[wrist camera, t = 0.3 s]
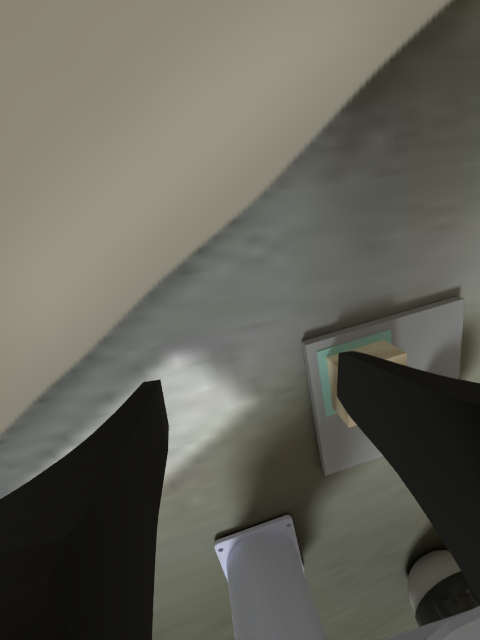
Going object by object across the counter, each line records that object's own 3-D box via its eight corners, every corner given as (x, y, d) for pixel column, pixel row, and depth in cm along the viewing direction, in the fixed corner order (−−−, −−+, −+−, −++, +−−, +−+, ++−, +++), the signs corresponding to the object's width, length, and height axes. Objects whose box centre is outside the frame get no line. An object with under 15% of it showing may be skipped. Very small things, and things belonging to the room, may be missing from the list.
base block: (385, 391, 24) (407, 408, 22) (332, 408, 23) (349, 427, 21) (383, 340, 22) (406, 352, 20) (326, 357, 22) (343, 372, 19)
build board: (449, 425, 28) (457, 431, 27) (321, 469, 27) (326, 477, 26) (455, 296, 23) (465, 298, 23) (301, 341, 22) (306, 345, 21)
